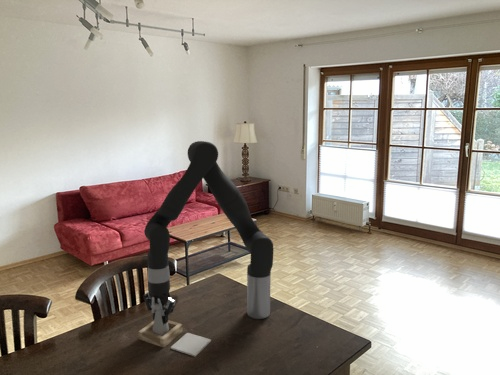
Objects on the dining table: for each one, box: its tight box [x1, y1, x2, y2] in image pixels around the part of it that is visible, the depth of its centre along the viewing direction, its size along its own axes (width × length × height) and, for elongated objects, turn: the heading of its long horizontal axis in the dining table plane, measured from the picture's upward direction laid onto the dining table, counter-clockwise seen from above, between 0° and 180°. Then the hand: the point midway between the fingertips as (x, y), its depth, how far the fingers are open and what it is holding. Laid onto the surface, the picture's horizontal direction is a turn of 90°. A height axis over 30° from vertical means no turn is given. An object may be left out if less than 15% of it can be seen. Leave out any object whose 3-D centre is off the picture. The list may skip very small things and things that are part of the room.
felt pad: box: [170, 332, 212, 357], centre depth 138 cm, size 10×10×1 cm
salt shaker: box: [153, 303, 170, 336], centre depth 142 cm, size 6×6×13 cm
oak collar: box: [138, 319, 184, 348], centre depth 143 cm, size 11×11×3 cm
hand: (160, 322), depth 142 cm, fingers closed on salt shaker, 3 cm apart
